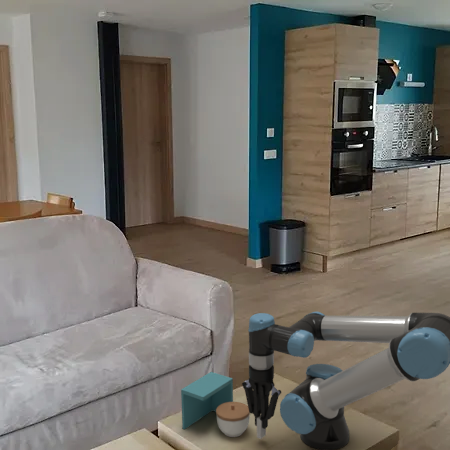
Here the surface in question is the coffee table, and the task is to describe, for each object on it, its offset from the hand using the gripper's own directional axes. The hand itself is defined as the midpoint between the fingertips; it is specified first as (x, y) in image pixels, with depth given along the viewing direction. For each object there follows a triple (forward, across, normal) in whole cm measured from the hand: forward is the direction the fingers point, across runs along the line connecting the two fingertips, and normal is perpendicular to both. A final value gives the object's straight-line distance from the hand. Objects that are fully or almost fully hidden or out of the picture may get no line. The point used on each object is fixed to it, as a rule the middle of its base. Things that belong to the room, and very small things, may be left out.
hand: (261, 436), depth 183 cm
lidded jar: (+3, +11, 0) cm, 11 cm away
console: (+2, +21, 0) cm, 21 cm away
